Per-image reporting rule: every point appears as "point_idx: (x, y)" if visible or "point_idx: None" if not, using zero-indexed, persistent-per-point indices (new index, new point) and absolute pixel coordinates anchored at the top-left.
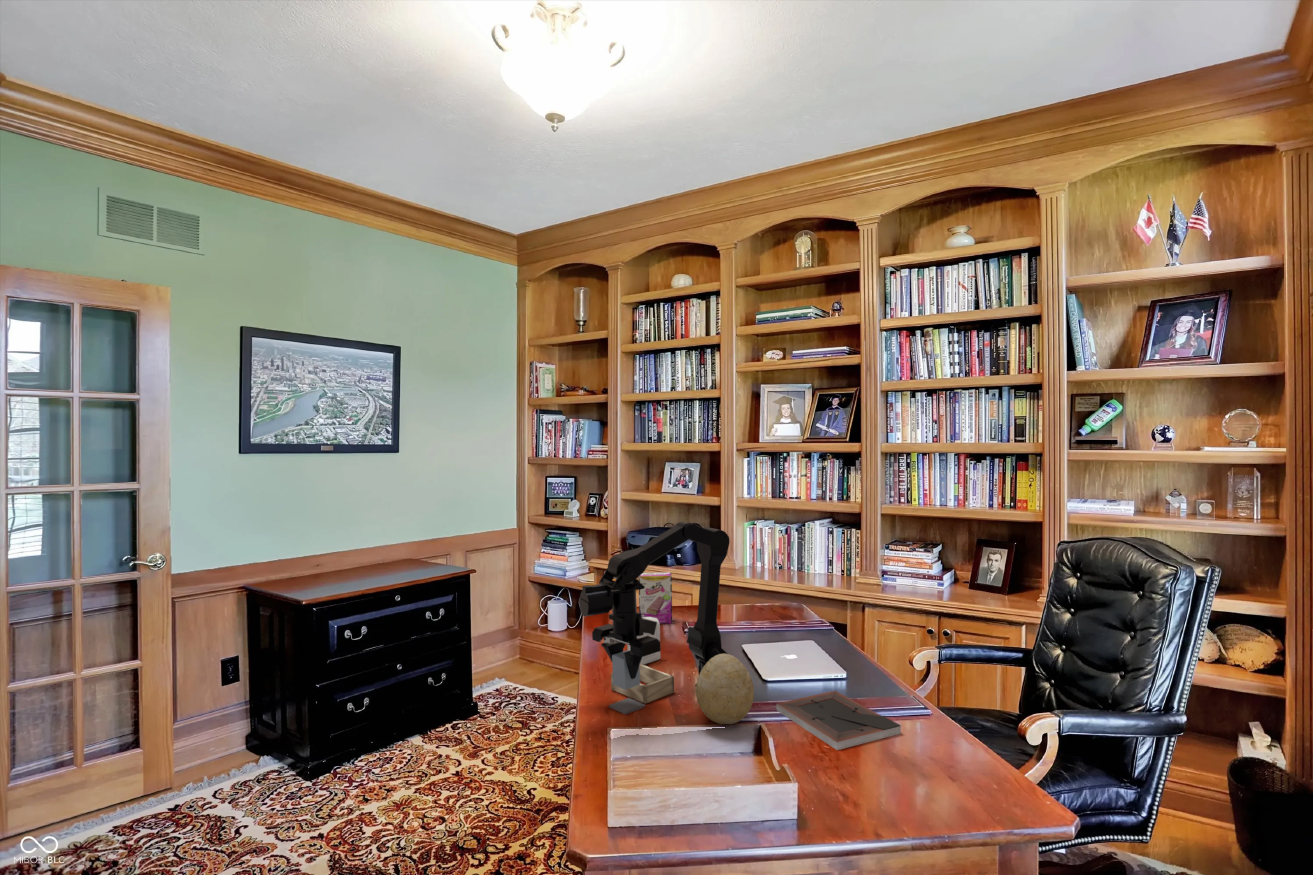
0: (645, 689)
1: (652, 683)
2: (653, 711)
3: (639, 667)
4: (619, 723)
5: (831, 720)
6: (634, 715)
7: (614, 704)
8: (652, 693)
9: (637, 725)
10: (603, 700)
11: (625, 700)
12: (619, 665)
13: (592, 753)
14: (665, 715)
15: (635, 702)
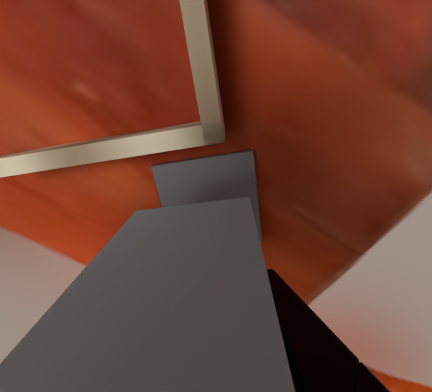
0: (223, 133)
1: (207, 67)
2: (309, 145)
3: (265, 267)
4: (301, 278)
5: None
6: (286, 218)
7: None
8: (217, 81)
9: (356, 248)
10: (113, 234)
11: (168, 189)
12: None
13: (384, 383)
14: (377, 128)
15: (209, 169)
